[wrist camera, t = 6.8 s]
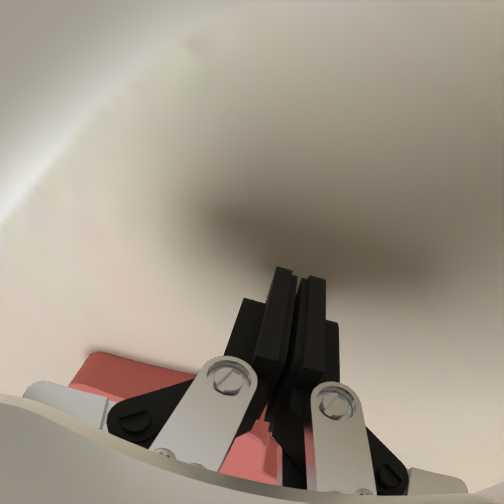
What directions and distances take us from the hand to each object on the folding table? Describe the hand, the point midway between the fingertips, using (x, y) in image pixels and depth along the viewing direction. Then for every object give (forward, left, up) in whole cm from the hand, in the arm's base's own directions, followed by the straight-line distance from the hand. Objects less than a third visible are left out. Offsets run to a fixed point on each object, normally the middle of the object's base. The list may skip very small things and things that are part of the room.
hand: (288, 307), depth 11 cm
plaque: (+2, +16, -2) cm, 17 cm away
